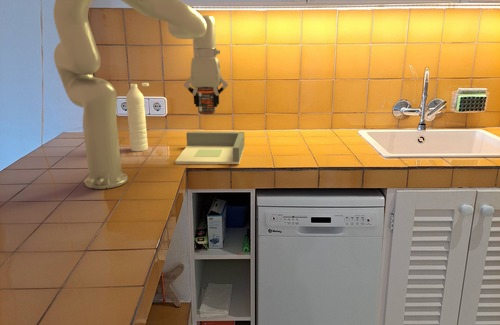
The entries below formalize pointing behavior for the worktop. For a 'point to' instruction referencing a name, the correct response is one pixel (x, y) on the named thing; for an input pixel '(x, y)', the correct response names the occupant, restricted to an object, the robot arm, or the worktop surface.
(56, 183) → the worktop surface
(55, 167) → the worktop surface
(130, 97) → the water bottle
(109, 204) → the worktop surface
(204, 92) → the supplement bottle
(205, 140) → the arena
